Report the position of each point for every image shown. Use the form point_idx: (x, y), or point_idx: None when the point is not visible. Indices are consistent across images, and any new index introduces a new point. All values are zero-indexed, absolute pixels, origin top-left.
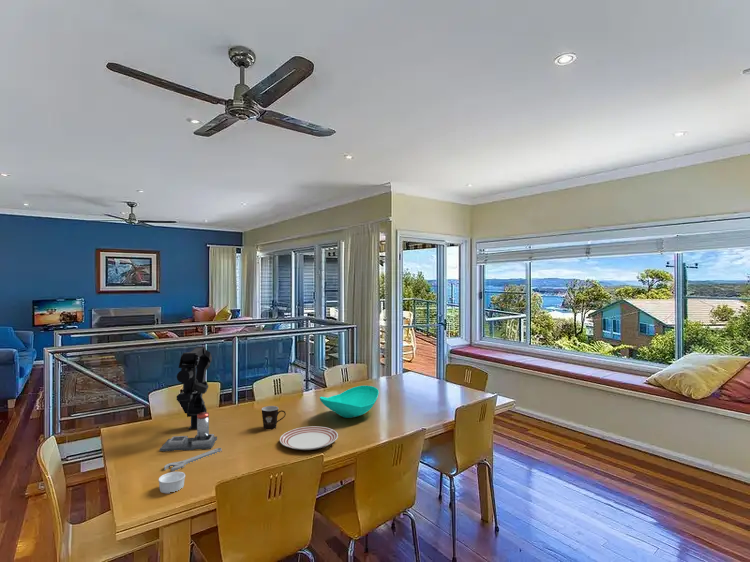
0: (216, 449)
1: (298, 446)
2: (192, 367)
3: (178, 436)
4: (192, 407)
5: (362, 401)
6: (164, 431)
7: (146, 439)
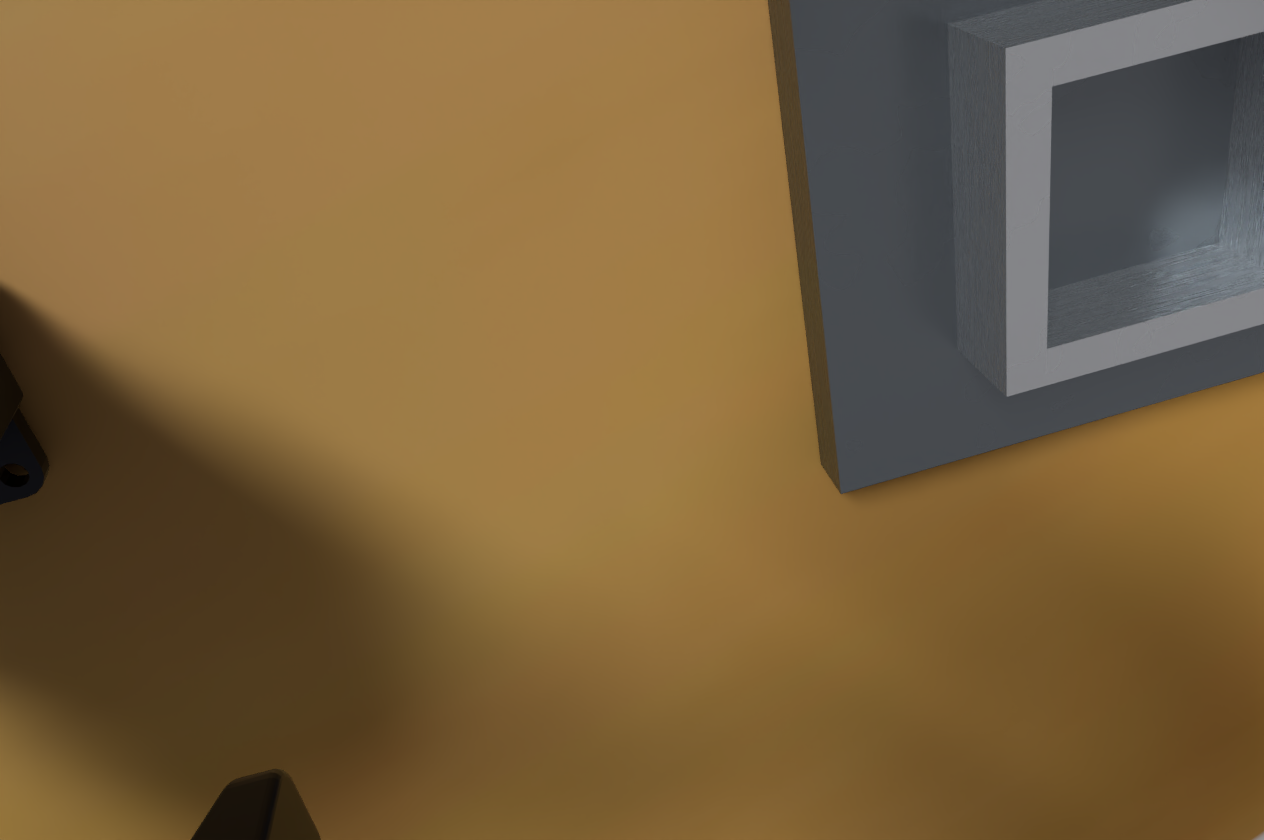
0: None
1: None
2: None
3: (1022, 272)
4: (294, 800)
5: None
6: None
7: (721, 831)
